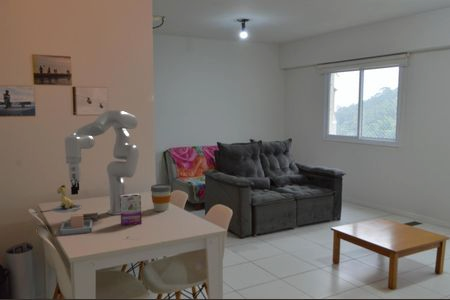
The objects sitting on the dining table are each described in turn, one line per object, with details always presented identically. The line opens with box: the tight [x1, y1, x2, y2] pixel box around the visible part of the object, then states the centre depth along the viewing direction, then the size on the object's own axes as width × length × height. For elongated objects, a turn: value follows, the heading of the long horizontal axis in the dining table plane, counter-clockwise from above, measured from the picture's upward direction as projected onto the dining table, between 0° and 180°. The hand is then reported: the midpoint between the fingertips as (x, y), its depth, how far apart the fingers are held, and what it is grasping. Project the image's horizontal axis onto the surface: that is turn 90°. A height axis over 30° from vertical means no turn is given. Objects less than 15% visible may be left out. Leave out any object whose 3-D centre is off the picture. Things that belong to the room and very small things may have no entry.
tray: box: [59, 220, 94, 236], centre depth 200 cm, size 15×15×2 cm
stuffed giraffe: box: [49, 184, 82, 214], centre depth 241 cm, size 16×18×16 cm
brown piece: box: [77, 212, 99, 222], centre depth 218 cm, size 14×10×2 cm
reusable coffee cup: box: [150, 183, 172, 212], centre depth 239 cm, size 13×13×15 cm
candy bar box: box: [120, 192, 143, 226], centre depth 210 cm, size 11×5×16 cm, turn 105°
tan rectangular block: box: [69, 213, 84, 229], centre depth 200 cm, size 6×3×7 cm, turn 107°
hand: (75, 192), depth 198 cm, fingers open, 9 cm apart
